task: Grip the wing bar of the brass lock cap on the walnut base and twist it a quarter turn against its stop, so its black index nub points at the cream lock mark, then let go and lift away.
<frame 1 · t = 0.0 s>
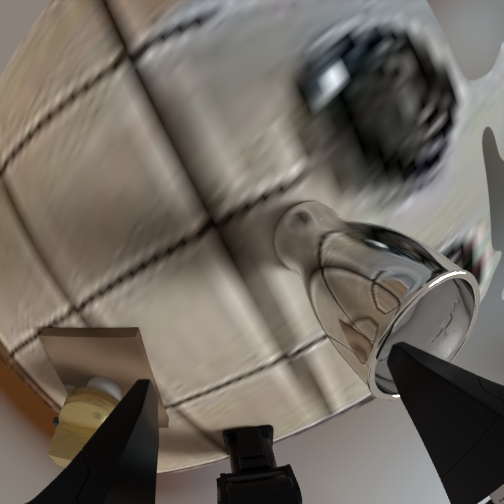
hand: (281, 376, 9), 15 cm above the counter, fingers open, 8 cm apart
lock cap: (86, 437, 18), point 8 cm above the counter, hinge at 0.0°
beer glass: (308, 236, 24), on the counter, touching gripper
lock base: (108, 379, 26), on the counter
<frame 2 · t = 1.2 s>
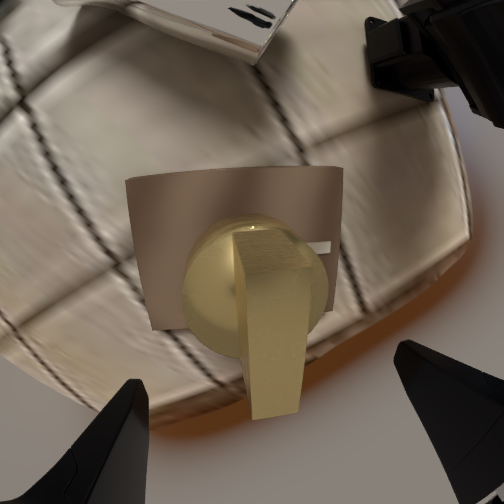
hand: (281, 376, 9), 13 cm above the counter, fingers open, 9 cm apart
lock cap: (260, 319, 13), point 8 cm above the counter, hinge at 0.0°
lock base: (238, 246, 20), on the counter
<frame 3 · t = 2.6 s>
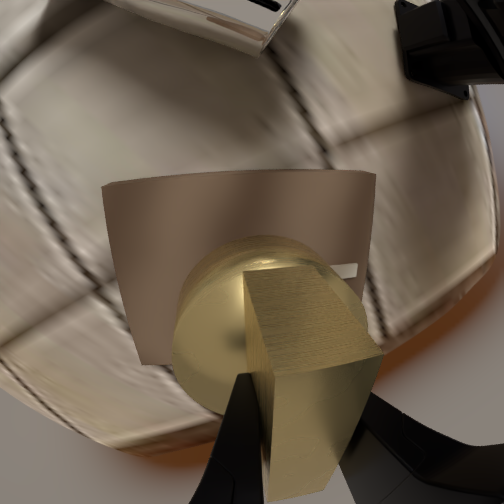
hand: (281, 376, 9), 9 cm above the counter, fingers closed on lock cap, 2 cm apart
lock cap: (278, 382, 9), point 8 cm above the counter, hinge at 0.0°, touching gripper
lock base: (245, 268, 16), on the counter
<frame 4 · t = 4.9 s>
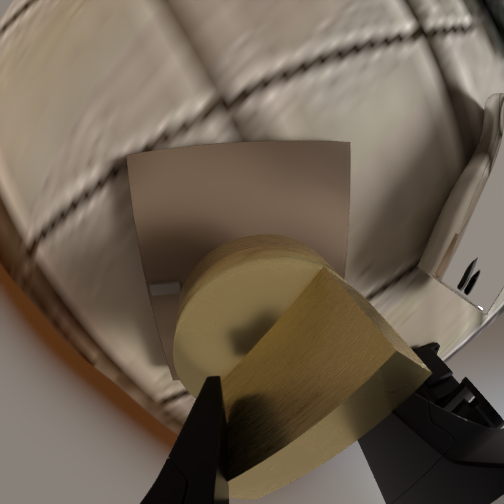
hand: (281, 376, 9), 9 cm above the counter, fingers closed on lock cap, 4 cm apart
lock cap: (268, 378, 9), point 8 cm above the counter, hinge at 50.3°, touching gripper
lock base: (246, 267, 16), on the counter
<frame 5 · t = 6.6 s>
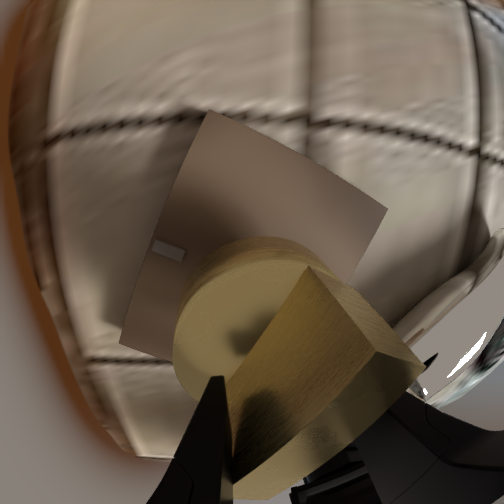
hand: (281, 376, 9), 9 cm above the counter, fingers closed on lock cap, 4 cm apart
lock cap: (268, 380, 9), point 8 cm above the counter, hinge at 86.6°, touching gripper
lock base: (245, 269, 17), on the counter
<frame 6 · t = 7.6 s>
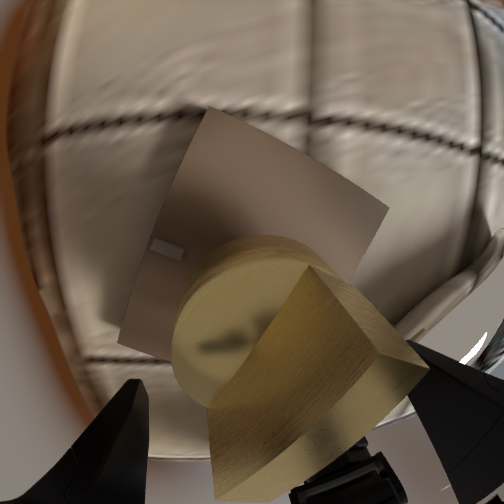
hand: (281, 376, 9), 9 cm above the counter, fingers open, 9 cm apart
lock cap: (269, 381, 9), point 8 cm above the counter, hinge at 87.3°
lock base: (245, 268, 16), on the counter
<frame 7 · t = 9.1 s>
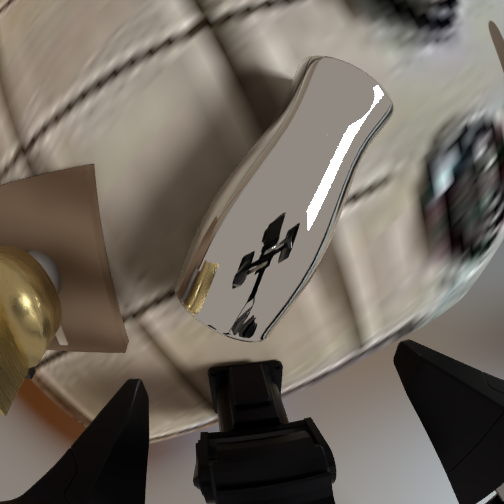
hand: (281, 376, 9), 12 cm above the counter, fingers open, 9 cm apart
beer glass: (348, 85, 14), point 3 cm above the counter
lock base: (48, 267, 18), on the counter
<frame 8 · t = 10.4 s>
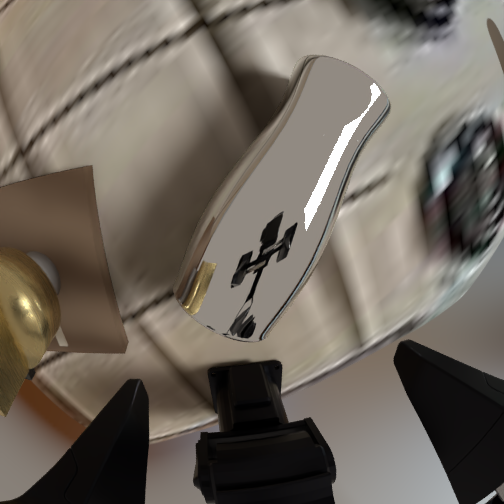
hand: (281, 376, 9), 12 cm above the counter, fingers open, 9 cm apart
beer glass: (345, 83, 14), point 3 cm above the counter
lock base: (47, 268, 18), on the counter
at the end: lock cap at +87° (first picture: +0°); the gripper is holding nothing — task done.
